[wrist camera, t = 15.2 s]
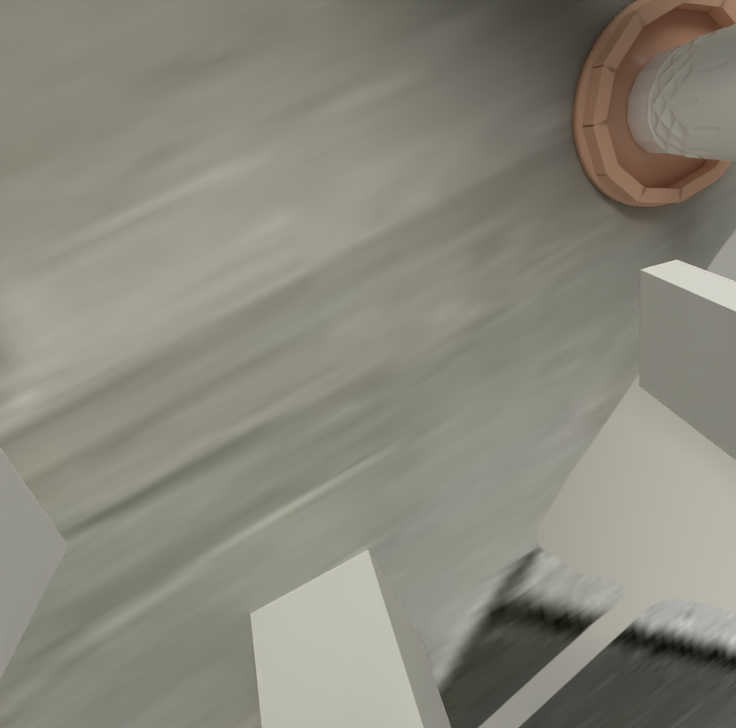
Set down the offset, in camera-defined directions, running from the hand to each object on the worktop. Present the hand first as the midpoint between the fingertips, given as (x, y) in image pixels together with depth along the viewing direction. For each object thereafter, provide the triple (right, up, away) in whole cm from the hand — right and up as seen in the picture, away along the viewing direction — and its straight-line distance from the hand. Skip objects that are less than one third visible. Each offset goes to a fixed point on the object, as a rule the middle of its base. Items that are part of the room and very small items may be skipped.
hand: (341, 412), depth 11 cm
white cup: (+22, +19, +26) cm, 39 cm away
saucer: (+21, +20, +27) cm, 39 cm away
